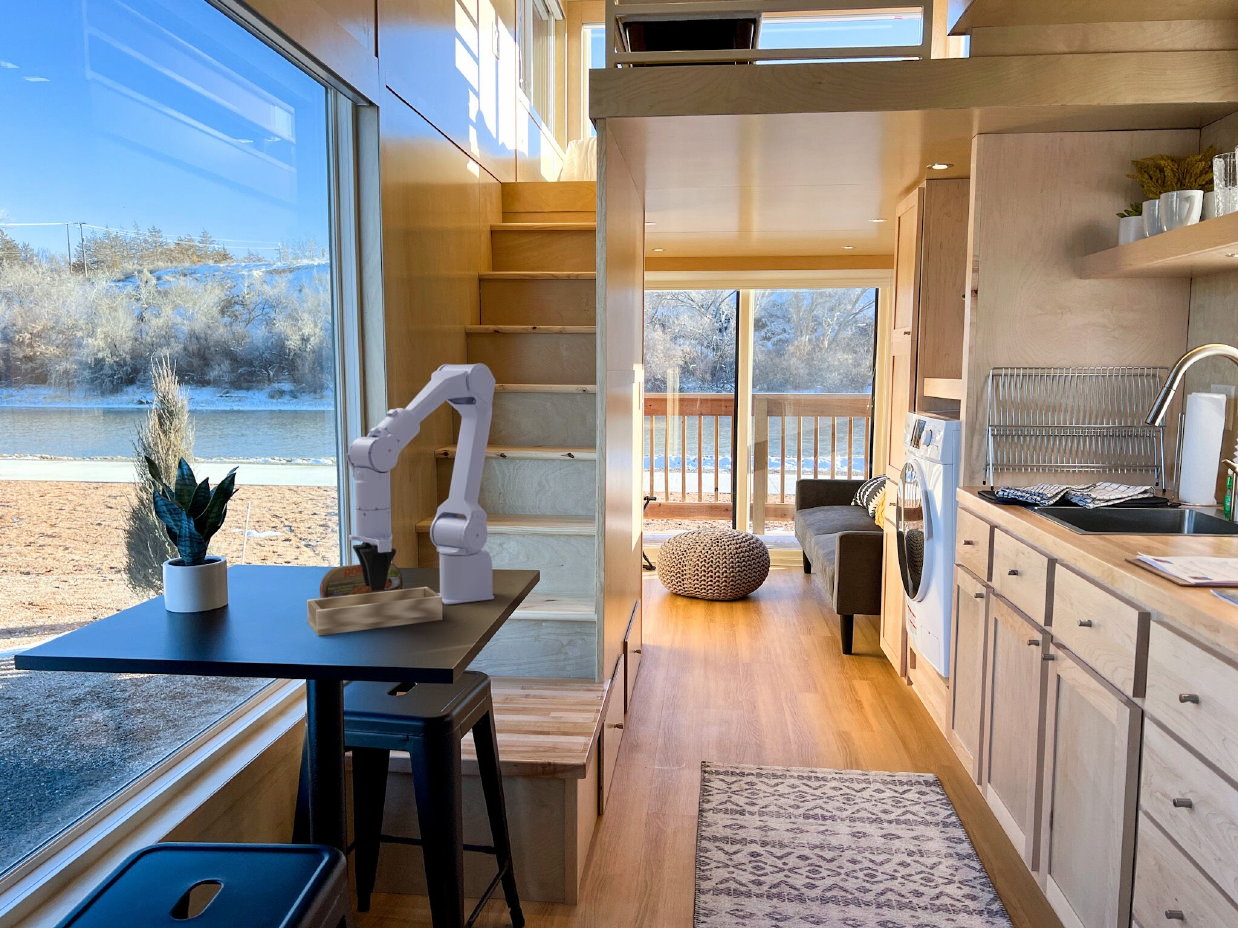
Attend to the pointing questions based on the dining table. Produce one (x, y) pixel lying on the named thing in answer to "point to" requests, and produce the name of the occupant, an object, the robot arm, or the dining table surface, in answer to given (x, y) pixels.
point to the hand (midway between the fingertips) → (374, 587)
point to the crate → (373, 610)
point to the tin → (355, 581)
